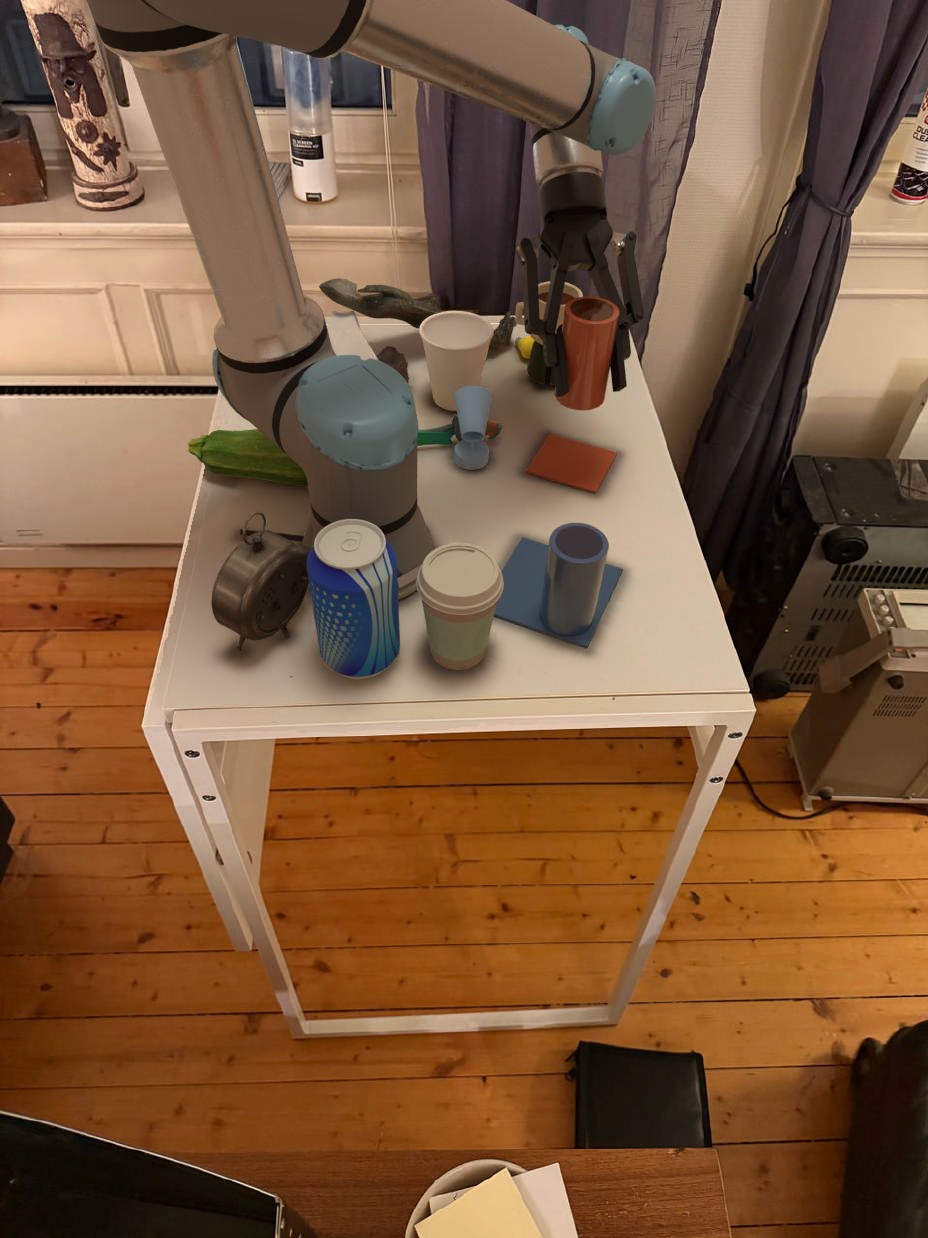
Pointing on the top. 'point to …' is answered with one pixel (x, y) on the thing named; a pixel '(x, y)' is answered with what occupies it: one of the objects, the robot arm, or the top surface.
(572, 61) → the robot arm
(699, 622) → the top surface
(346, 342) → the spoon rest
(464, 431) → the spotlight
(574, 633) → the blue tumbler
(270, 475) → the vegetable
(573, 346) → the terracotta tumbler
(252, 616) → the alarm clock
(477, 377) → the cup
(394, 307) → the statue
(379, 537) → the beer can
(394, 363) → the stone
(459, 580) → the coffee cup
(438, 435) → the knife
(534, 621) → the blue mat
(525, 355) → the light bulb
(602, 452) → the terracotta mat
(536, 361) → the character mug
